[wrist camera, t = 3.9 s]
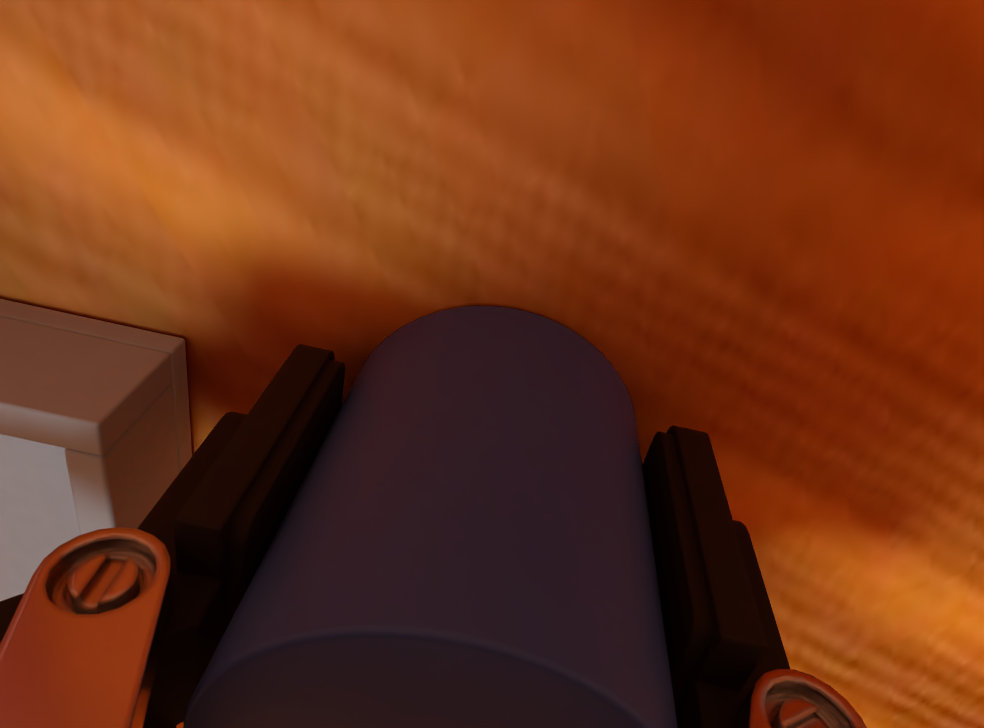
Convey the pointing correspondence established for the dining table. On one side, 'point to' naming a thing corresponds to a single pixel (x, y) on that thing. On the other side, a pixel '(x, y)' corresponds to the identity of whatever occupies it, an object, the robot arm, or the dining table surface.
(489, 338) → the tabbed navy cylinder
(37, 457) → the blue tray
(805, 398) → the dining table surface
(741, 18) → the dining table surface
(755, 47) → the dining table surface
